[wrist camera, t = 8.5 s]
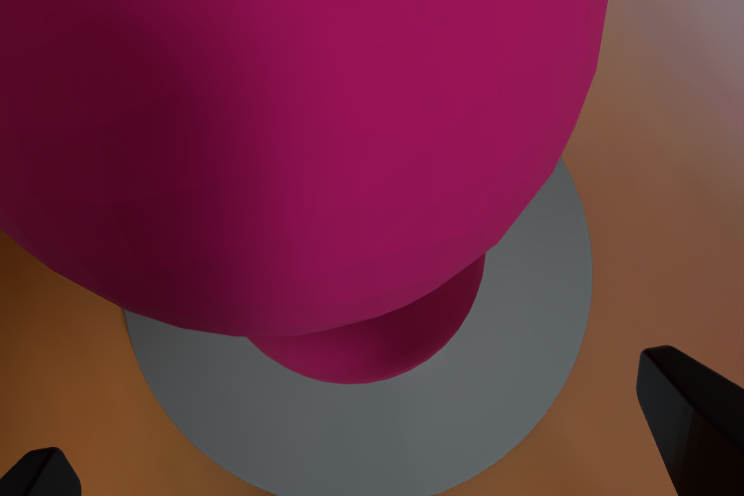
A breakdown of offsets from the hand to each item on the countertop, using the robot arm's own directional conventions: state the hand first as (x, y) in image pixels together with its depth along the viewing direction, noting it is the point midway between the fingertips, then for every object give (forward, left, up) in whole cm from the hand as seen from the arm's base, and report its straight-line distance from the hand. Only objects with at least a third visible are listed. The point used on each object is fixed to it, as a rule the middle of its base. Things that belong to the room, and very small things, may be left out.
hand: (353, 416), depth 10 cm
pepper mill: (+4, 0, -11) cm, 12 cm away
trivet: (+5, 0, -12) cm, 13 cm away
